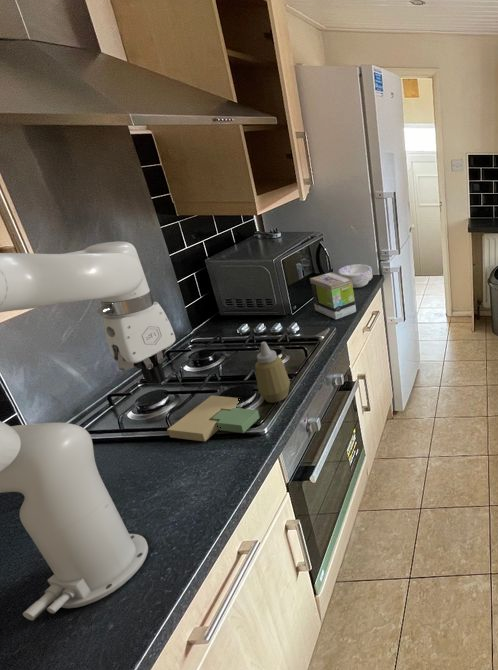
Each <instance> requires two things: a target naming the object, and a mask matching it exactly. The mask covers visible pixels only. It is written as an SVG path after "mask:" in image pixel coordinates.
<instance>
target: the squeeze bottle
mask: <svg viewBox="0 0 498 670" xmlns="http://www.w3.org/2000/svg"><path fill="white" fill-rule="evenodd" d="M256 359H257V361H256V363H255V365H254V368H255V376H256V384H257V391H258V393H259V394H260V396H262V398H263V399H264V400H265V402H267V403H272V404H273V403H278V402H281V401H283V400H284V399H286V398H287V397H288V396H289V392H290V385H291V379H290V378H289V376H288V372H287V370H286V367H285V364H284V362H283V359H282V358H281V357H280V356H278V355H277V352H276V351H275V350H273V349H270V347H269V345H268V344H267V342H266V341H262V342H260V352H259V353H258V354H257V355H256Z"/></svg>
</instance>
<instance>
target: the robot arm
mask: <svg viewBox="0 0 498 670" xmlns="http://www.w3.org/2000/svg"><path fill="white" fill-rule="evenodd" d="M150 290H151V289H150V287H149V284H148V281H147V278H146V274H145V272H144V269H143V266H142V263H141V260H140V258H139V255H138V251H137V248H136V247H135V246H134V245H133V244H132V243H130V242H128V241H121V240H120V241H107V242H106V241H105V242H101V243H96V244H92V245H90V246H87V247H85V249H82V250H77V251H71V252H70V251H69V252H65V253H31V252H30V253H29V252H0V313H6V312H12V311H23V310H24V311H25V310H30V309H37V308H42V307H43V308H45V307H49V306H55V305H62V304H69V303H76V302H83V301H91V300H98V299H99V301H100V306H101V307H100V308H98V309H97V310H96V311H97V313H98V315H100V316H103V319H102V320H103V329H104V330H103V331H104V335H105V339H106V343H107V346H108V349H109V352H110V355H111V357H112V359H113V360H114V361H115V362H118V363H117V364H118V369H119V370H121V371H128V370H131V369H134V368H137V369H140V370H141V374H142V376H143V378H144V381H145V382H146V383H147V384H153V385H154V384H156V385H159V384H161V383H162V382H164V381H166V380H167V378H166V375H165V371H164V367H163V365H162V363H163V362H164V356H165V354H166V351H168V349H170V348H171V347H172V346H173V345H174V343H175V342H176V339H177V338H176V335H175V332H174V329H173V327H172V324H171V321H170V319H169V318H168V316H167V314H166V312H165V310H164V309H163V308H162V306H161V305H160V304H159V302H158V301H154V299H153V296H152V293H151V291H150ZM3 493H20V494H22V496H23V497H24V498H23V499H24V500H23V502H22V504H21V506H20V509H19V515H18V516H19V520H20V522H21V524H22V526H23V528H24V529H25V531H26V532H27V533H28V535H29V536H30V538H31V540H32V541H33V543H34V544H35V546H36V548H37V550H38V551H39V553H40V554H41V556H42V557H43V559H44V560H45V563H47V565H48V567H49V568H50V570H51V571H52V573H53V575H51V576H50V577H49V578H48V579H47V583H48V584H49V585H50V586H48V588H46V589H45V590H44V594H43V595H42V596H41V597H40V598H39V599H38V600H36V601H34V602H33V603H32V604H31V605H30V606H29V607H28V608H27V609H26V610H25V611H23V612H22V616H23V617H24V618H26V619H27V620H29V621H35V620H36V618H38V617H39V616H40V615H41V614H42V613H43V612H44V611H45V610H46V611H47V612H48V613H50V614H55V613H56V612H57V611H59V610H60V608H63V609H75V608H80V607H84V606H87V605H90V604H92V603H96V602H98V601H99V600H102V599H103V598H105V597H107V596H109V595H110V594H112V593H114V592H115V591H117V590H118V589H119V588H121V587H122V586H123V585H125V584H126V583H127V582H128V581H129V580H130V579H131V578H132V577H133V576H134V575H135V574H136V573H137V572H138V571H139V569H140V568H141V567H142V566H143V564H144V562H145V561H146V558H147V556H148V553H149V545H148V542H147V539H146V538H145V537H144V536H142V535H140V534H137V533H129V531H128V529H127V527H126V525H125V523H124V521H123V519H122V517H121V515H120V512H119V511H118V509H117V507H116V505H115V503H114V501H113V498H112V497H111V495H110V493H109V491H108V489H107V487H106V485H105V484H104V481H103V479H102V476H101V474H100V472H99V470H98V467H97V464H96V459H95V452H94V443H93V439H92V436H91V434H90V432H89V431H87V429H86V428H84V427H82V426H81V425H78V424H74V423H70V422H39V423H31V424H29V423H28V424H19V425H12V426H10V425H9V424H7V423H5V422H3V421H1V420H0V494H3Z"/></svg>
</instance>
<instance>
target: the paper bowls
mask: <svg viewBox="0 0 498 670" xmlns="http://www.w3.org/2000/svg"><path fill="white" fill-rule="evenodd" d="M337 275H340V276H343V277H346V278H349V279H352V285H353V289H357V288H358V289H359V288H363V287H365V286H367V285H368V284H369V282H370V281H371V280H372V279H373V276H374V275H373V268H372V267H371V266H370V265H367V264H363V263H359V264H357V263H356V264H349V265H345V266H342V267H340V268H339V269H338V271H337Z"/></svg>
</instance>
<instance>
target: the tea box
mask: <svg viewBox="0 0 498 670" xmlns="http://www.w3.org/2000/svg"><path fill="white" fill-rule="evenodd" d="M309 282H310V288H311V292H312V293H311V294H312V299H313V305H314V309H315V311H316V312H318V313H321V314H323V315H324V316H327V317H329V318H331V319H334V320H339V319H342V318H344V317H347V316H349V315H352V314H354V313H356V312H357V307H356V300H355V293H354V292H355V291H354V288H353V285H352V279H349V278H346V277H343V276H340V275H338V273H335V272H331V271H329V272H327V273H324V274H323V273H322V274H320V275H317V276H313V277H310V278H309Z"/></svg>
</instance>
